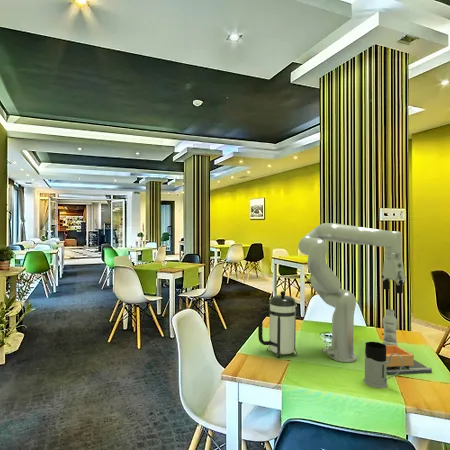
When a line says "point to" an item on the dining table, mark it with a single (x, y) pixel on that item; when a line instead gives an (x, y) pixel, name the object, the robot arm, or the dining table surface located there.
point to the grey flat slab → (410, 369)
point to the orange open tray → (395, 359)
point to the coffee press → (280, 325)
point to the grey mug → (377, 365)
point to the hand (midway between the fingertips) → (392, 291)
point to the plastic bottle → (390, 328)
